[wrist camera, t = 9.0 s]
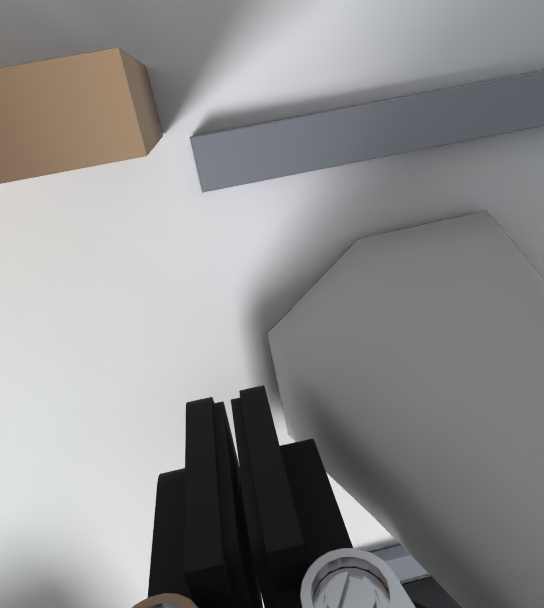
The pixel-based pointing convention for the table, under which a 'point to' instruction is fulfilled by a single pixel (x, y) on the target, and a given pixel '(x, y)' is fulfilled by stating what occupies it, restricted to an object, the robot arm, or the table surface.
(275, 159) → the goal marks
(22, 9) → the table surface
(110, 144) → the wooden u-shaped frame
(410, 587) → the frame
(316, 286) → the flask
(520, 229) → the table surface
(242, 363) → the table surface
